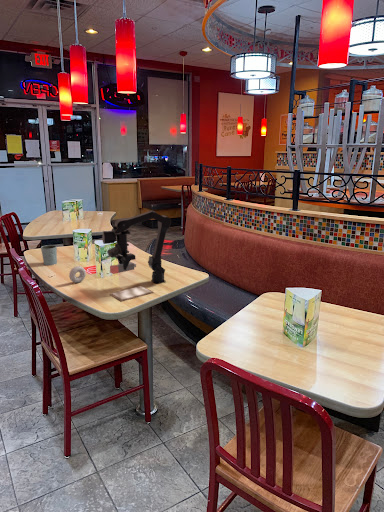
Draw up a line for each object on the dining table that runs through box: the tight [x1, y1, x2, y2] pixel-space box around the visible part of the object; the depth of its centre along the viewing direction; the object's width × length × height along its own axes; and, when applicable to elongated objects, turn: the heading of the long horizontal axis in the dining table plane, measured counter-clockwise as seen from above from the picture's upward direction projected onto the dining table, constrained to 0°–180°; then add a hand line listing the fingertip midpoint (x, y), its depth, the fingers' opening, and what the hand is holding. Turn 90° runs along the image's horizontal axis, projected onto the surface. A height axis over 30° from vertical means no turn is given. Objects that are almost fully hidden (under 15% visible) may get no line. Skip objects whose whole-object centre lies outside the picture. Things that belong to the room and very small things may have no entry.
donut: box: [68, 265, 86, 284], centre depth 223 cm, size 10×3×10 cm, turn 133°
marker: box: [109, 261, 137, 275], centre depth 215 cm, size 15×4×4 cm, turn 128°
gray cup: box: [40, 244, 58, 266], centre depth 259 cm, size 10×10×12 cm
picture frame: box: [109, 285, 155, 302], centre depth 208 cm, size 20×13×1 cm, turn 128°
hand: (123, 268), depth 215 cm, fingers closed on marker, 4 cm apart
